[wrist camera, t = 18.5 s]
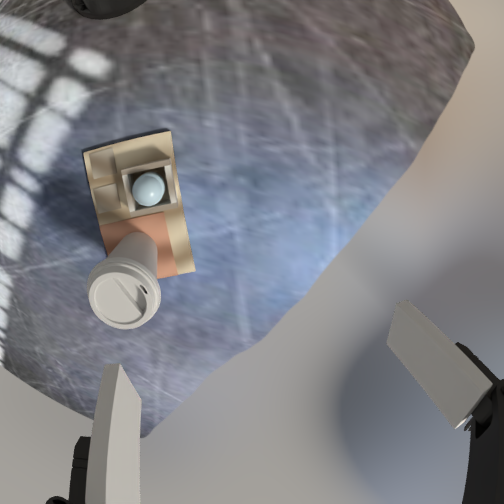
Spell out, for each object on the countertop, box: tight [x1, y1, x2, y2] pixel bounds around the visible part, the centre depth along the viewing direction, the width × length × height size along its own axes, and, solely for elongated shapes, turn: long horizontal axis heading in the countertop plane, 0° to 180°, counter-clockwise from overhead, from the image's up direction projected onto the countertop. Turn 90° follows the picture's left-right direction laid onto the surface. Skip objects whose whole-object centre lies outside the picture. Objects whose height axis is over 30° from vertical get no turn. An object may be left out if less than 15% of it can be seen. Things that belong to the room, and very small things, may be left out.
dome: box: [132, 172, 165, 206], centre depth 36 cm, size 4×4×5 cm
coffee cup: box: [87, 232, 161, 329], centre depth 36 cm, size 10×10×15 cm
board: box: [83, 131, 195, 279], centre depth 40 cm, size 23×14×4 cm, turn 6°
